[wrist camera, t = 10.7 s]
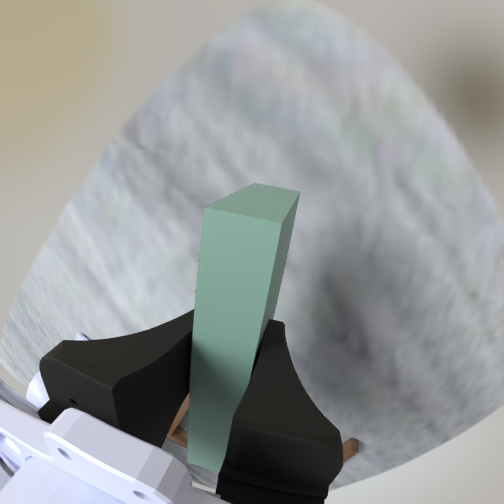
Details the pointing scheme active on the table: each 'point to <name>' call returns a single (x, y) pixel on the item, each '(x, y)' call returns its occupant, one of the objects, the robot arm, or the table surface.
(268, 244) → the bar
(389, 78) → the table surface
